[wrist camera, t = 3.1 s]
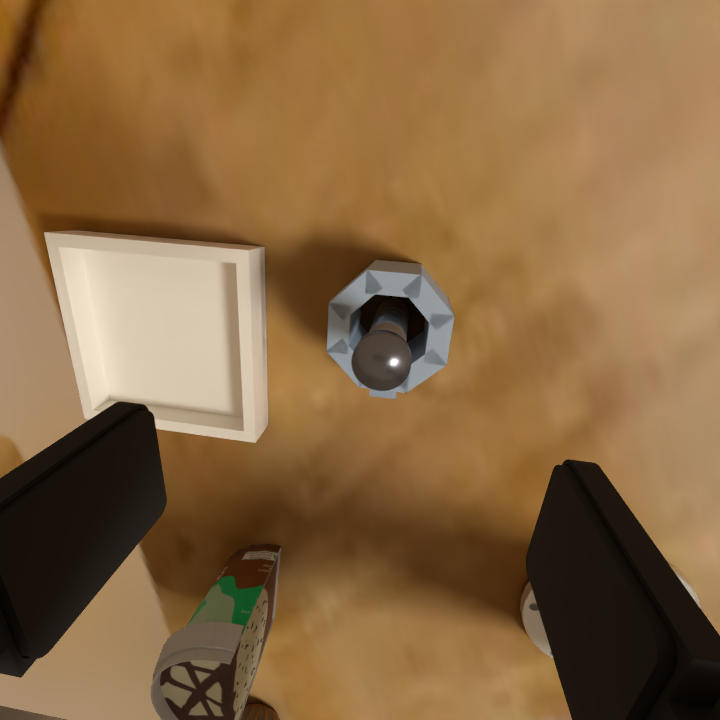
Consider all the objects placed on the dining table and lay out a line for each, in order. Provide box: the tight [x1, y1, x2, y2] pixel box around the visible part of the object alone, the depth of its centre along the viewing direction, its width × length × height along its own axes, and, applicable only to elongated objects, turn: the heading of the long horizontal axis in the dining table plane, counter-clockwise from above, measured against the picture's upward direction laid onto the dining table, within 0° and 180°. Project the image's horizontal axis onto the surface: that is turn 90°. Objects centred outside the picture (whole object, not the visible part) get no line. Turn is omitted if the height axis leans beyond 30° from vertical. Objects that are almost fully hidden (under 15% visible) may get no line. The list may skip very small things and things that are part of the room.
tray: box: [44, 230, 268, 443], centre depth 26 cm, size 13×13×2 cm
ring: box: [327, 259, 455, 399], centre depth 23 cm, size 7×8×4 cm
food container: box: [151, 544, 281, 720], centre depth 31 cm, size 12×6×10 cm, turn 172°
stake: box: [351, 299, 411, 391], centre depth 21 cm, size 3×3×9 cm
